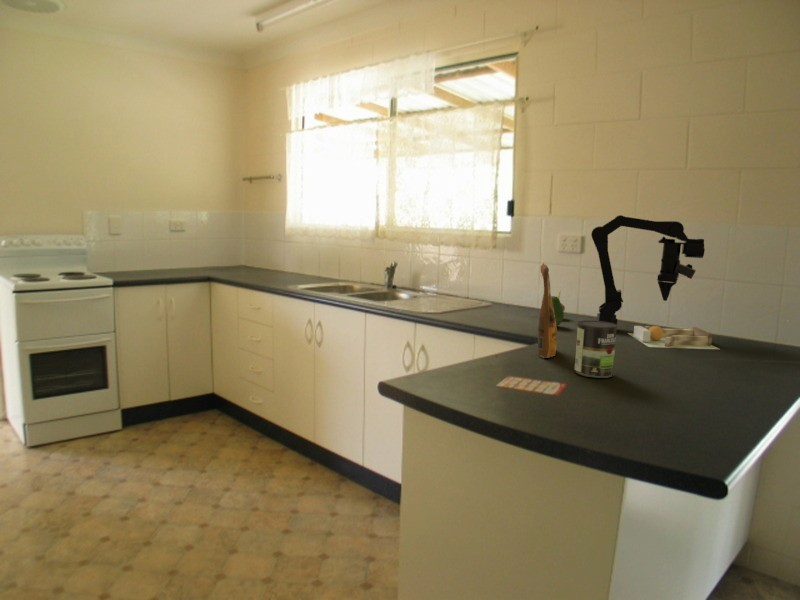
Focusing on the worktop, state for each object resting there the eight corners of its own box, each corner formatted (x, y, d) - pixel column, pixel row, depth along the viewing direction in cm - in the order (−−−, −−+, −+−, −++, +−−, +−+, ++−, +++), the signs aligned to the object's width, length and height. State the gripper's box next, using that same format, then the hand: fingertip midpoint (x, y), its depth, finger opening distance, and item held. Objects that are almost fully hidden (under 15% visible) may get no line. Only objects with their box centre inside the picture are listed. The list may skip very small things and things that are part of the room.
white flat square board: (648, 348, 191) (648, 346, 191) (626, 334, 213) (626, 332, 213) (720, 350, 190) (720, 349, 190) (690, 336, 211) (691, 335, 211)
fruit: (565, 329, 220) (567, 297, 218) (544, 328, 220) (546, 297, 218) (560, 325, 228) (562, 294, 226) (540, 324, 228) (541, 294, 226)
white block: (642, 341, 197) (643, 331, 197) (633, 335, 206) (634, 325, 206) (649, 341, 197) (650, 331, 196) (640, 336, 206) (641, 325, 206)
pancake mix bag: (531, 359, 173) (537, 266, 169) (536, 345, 191) (541, 261, 187) (555, 361, 171) (561, 267, 167) (557, 347, 189) (562, 262, 185)
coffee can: (621, 376, 157) (625, 325, 155) (593, 381, 152) (597, 328, 150) (593, 367, 166) (596, 319, 164) (565, 371, 161) (569, 321, 159)
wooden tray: (665, 346, 191) (666, 335, 191) (643, 333, 212) (644, 323, 211) (716, 348, 190) (718, 336, 190) (689, 335, 211) (690, 324, 210)
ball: (650, 341, 199) (651, 327, 198) (644, 338, 204) (646, 324, 203) (665, 341, 199) (666, 327, 198) (659, 338, 204) (660, 324, 203)
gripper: (695, 259, 196) (689, 304, 199) (696, 256, 213) (690, 298, 215) (659, 257, 201) (654, 301, 204) (663, 254, 218) (658, 295, 220)
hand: (665, 299), depth 211 cm, fingers open, 9 cm apart
